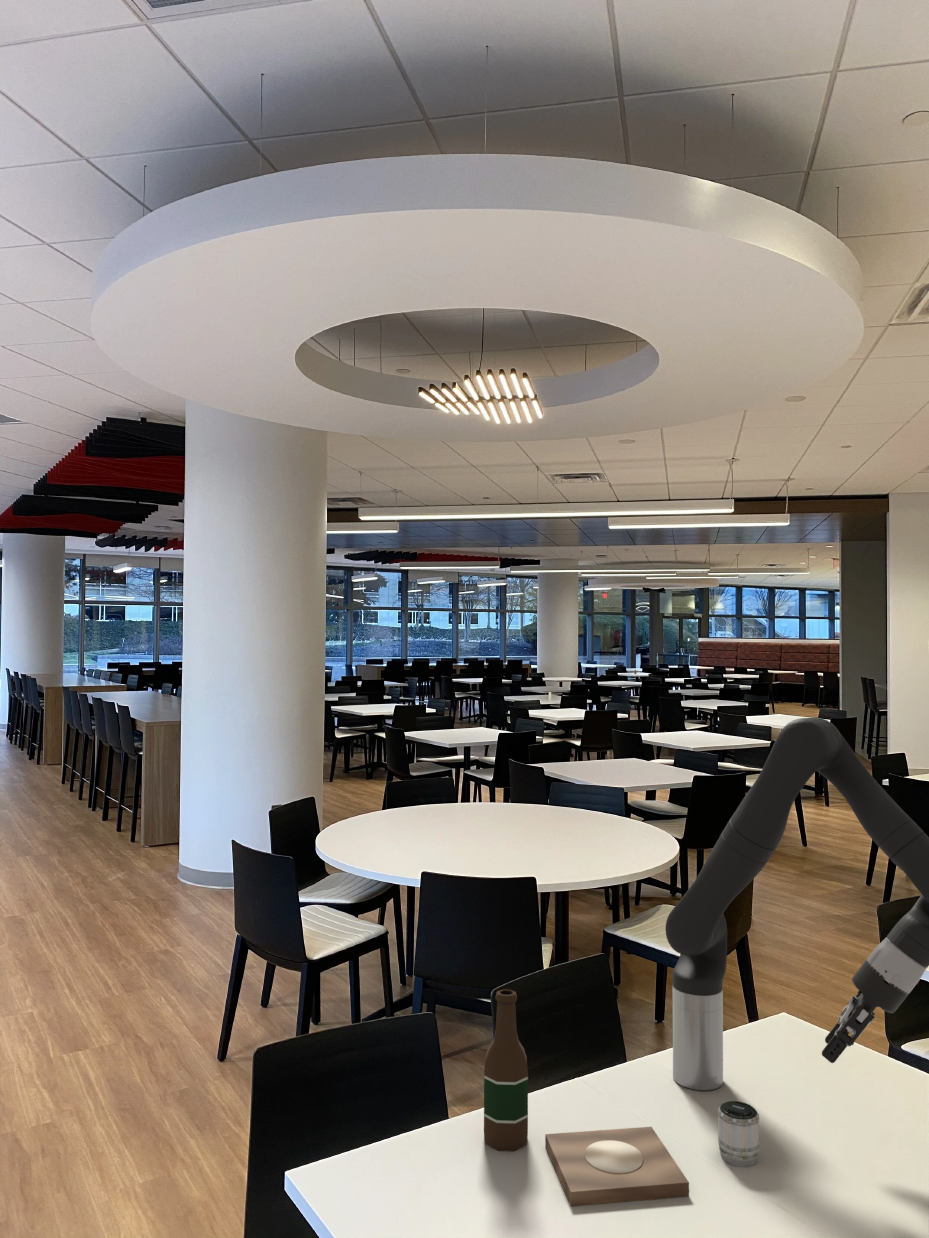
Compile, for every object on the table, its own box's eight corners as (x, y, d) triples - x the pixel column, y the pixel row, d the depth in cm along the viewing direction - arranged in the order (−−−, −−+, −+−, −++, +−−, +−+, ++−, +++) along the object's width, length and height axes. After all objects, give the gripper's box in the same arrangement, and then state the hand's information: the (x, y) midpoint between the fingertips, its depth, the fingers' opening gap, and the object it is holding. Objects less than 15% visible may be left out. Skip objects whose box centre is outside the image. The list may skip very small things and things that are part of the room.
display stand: (545, 1146, 146) (545, 1132, 146) (651, 1138, 149) (651, 1125, 149) (570, 1205, 131) (570, 1190, 131) (689, 1196, 133) (688, 1180, 133)
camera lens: (723, 1142, 148) (722, 1093, 148) (762, 1152, 145) (762, 1102, 145) (714, 1161, 142) (714, 1110, 143) (755, 1172, 139) (754, 1120, 140)
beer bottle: (536, 1133, 150) (536, 987, 151) (519, 1157, 143) (519, 1004, 144) (493, 1123, 154) (494, 980, 155) (474, 1145, 147) (475, 996, 148)
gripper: (868, 950, 153) (810, 1024, 154) (867, 965, 140) (804, 1045, 142) (909, 982, 149) (850, 1057, 151) (912, 1000, 137) (847, 1081, 138)
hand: (828, 1051), depth 146 cm, fingers open, 8 cm apart
